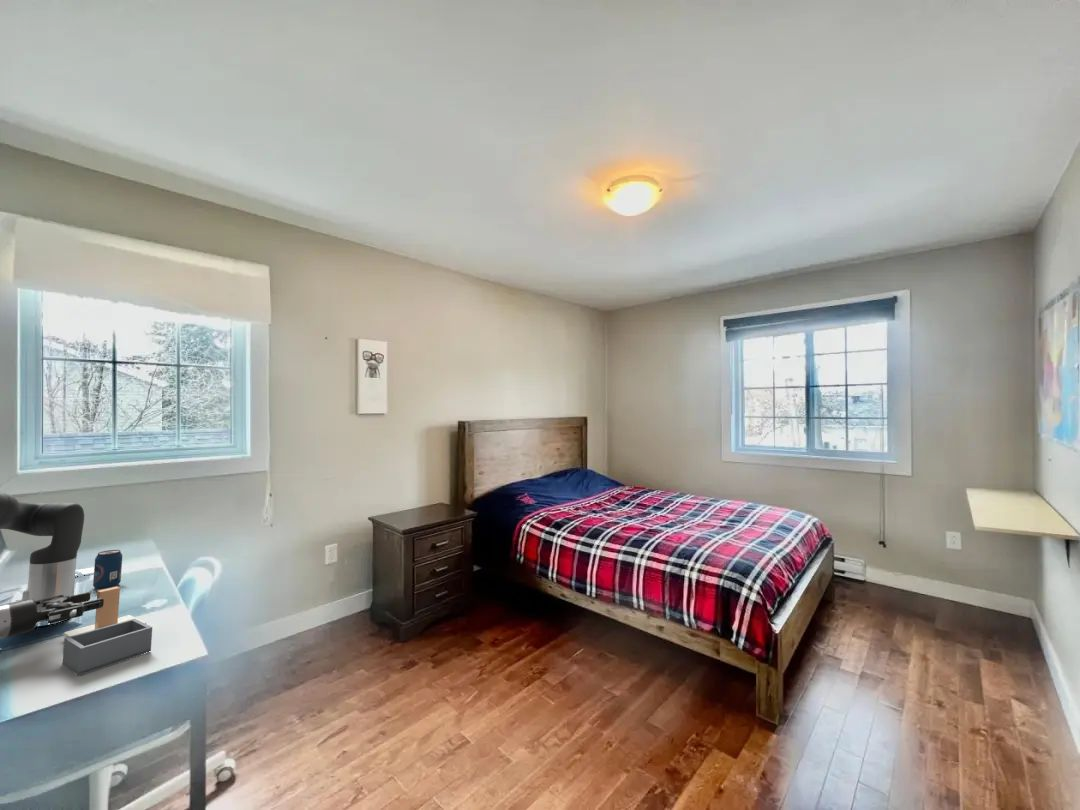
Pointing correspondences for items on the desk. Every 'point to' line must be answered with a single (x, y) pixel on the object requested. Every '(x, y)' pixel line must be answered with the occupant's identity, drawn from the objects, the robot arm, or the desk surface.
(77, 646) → the tub
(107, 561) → the soda can
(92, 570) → the external hard drive
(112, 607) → the lid
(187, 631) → the desk surface
